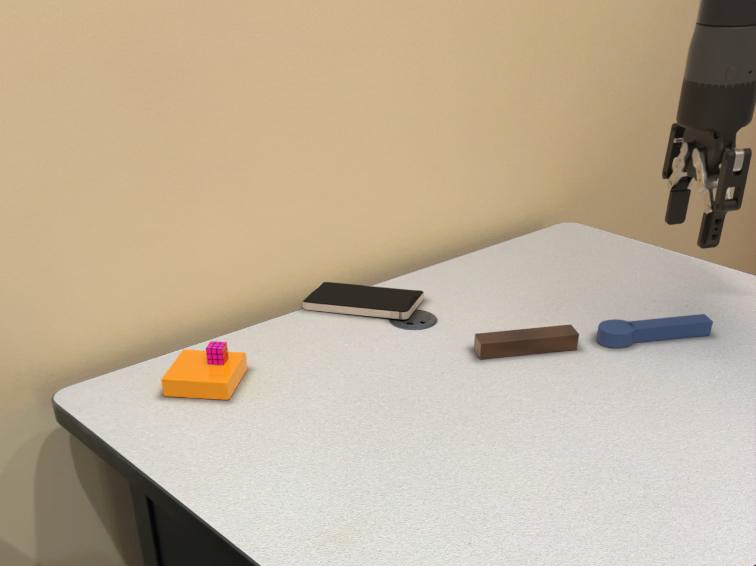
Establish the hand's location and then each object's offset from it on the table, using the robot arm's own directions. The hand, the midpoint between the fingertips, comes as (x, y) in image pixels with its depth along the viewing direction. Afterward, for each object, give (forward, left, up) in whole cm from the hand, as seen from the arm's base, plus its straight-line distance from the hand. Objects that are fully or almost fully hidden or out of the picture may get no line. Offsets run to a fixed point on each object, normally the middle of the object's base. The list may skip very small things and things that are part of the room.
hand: (690, 234), depth 102 cm
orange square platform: (+57, +1, -12) cm, 58 cm away
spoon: (+2, 0, -12) cm, 12 cm away
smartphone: (+35, -18, -12) cm, 41 cm away
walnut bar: (+18, 0, -12) cm, 22 cm away
